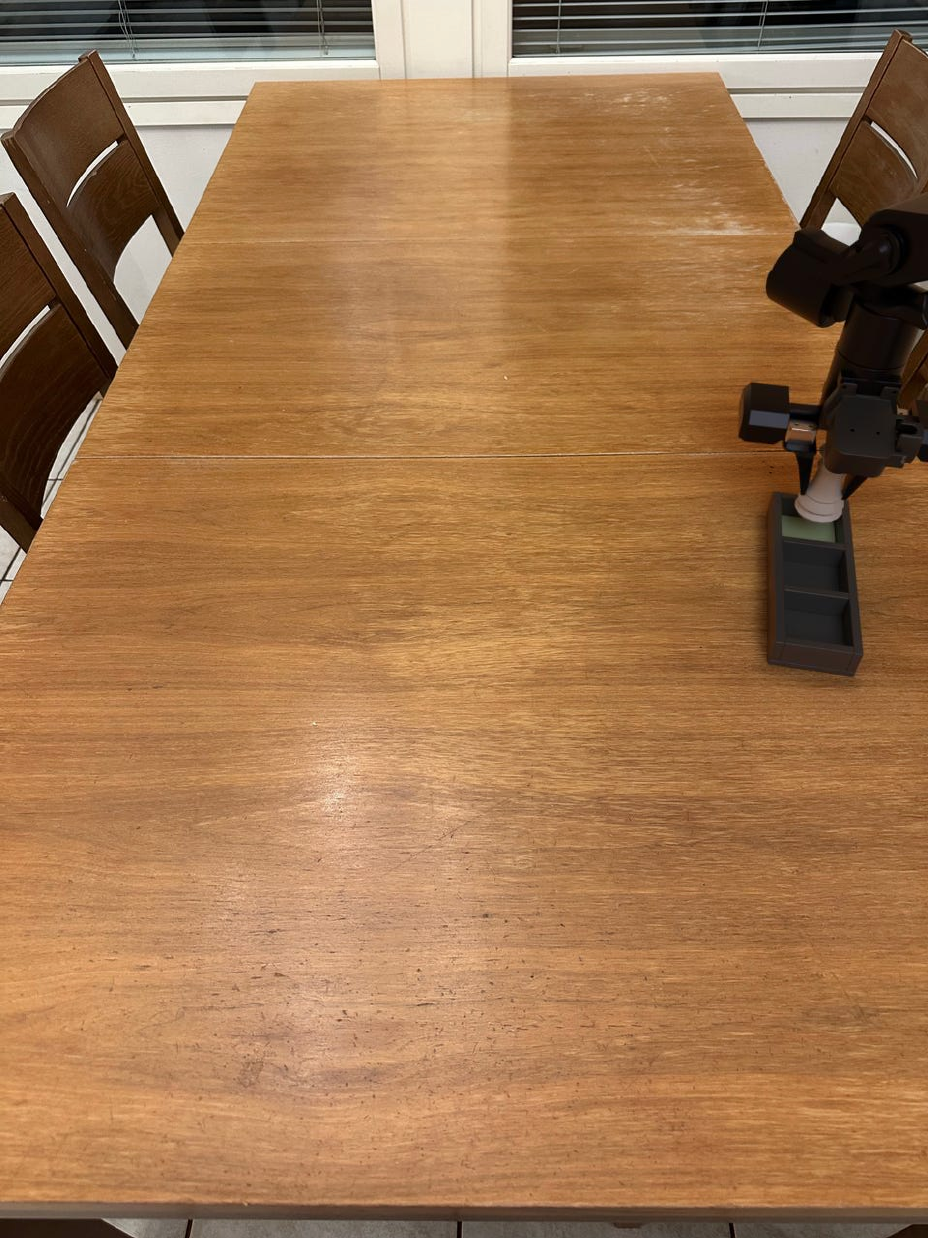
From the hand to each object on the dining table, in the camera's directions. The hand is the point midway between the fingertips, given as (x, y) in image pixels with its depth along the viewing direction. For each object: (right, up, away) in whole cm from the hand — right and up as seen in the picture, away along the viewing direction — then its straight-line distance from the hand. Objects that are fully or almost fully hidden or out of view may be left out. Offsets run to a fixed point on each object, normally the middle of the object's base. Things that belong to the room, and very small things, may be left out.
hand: (822, 495), depth 90 cm
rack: (-1, -9, +1) cm, 9 cm away
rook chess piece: (0, -1, +2) cm, 2 cm away
